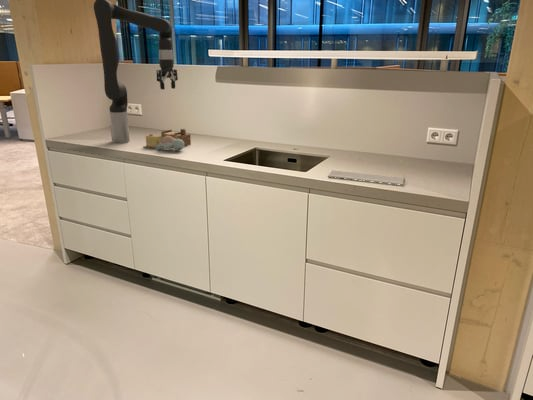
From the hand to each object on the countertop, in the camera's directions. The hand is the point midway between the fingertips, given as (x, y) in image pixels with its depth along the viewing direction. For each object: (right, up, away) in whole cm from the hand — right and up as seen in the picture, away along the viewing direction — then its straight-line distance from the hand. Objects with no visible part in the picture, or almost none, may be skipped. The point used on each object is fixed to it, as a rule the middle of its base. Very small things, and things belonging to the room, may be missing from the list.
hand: (168, 88), depth 231 cm
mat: (-6, -34, -5) cm, 34 cm away
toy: (+4, -37, -12) cm, 39 cm away
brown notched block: (+4, -31, +4) cm, 31 cm away
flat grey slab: (+99, -54, -55) cm, 125 cm away
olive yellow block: (-6, -33, -5) cm, 34 cm away
